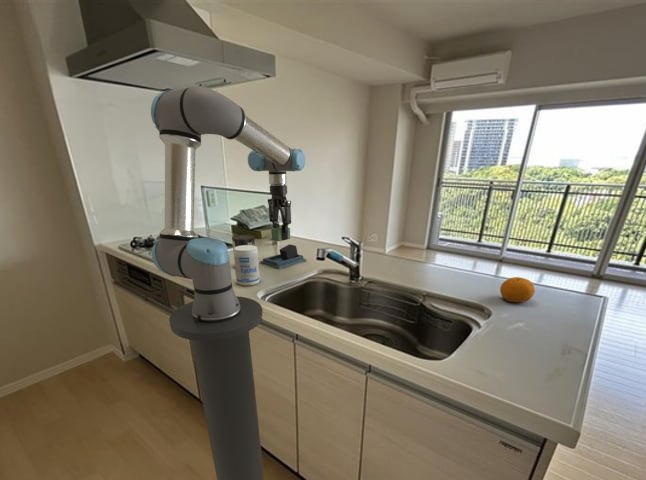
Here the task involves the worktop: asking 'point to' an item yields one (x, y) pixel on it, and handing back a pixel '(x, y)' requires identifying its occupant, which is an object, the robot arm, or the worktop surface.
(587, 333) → the worktop surface
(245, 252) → the supplement tub
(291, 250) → the charcoal block
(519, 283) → the fruit
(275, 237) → the sage pad
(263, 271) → the worktop surface
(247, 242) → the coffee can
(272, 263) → the blue tray
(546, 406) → the worktop surface
